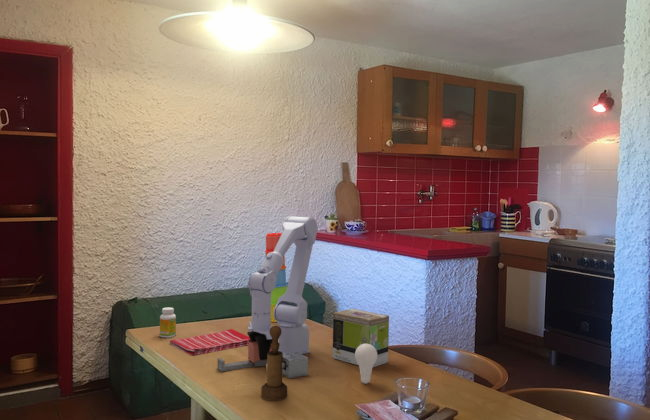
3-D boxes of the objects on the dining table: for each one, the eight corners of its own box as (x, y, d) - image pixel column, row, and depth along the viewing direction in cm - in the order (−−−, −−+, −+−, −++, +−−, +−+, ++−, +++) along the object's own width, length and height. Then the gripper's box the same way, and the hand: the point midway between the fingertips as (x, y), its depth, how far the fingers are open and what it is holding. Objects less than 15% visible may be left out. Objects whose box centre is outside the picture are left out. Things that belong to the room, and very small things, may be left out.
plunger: (282, 368, 161) (283, 359, 161) (286, 371, 159) (287, 362, 159) (266, 371, 158) (266, 361, 158) (269, 373, 156) (270, 364, 156)
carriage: (266, 360, 172) (266, 340, 172) (272, 364, 169) (272, 343, 168) (247, 362, 170) (248, 342, 169) (253, 367, 166) (253, 346, 165)
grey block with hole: (298, 368, 165) (298, 352, 165) (307, 375, 160) (308, 357, 160) (279, 371, 162) (279, 354, 162) (288, 378, 157) (289, 360, 157)
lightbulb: (370, 389, 150) (371, 348, 150) (350, 384, 153) (351, 344, 153) (380, 382, 155) (381, 343, 155) (360, 378, 159) (361, 339, 158)
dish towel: (256, 345, 191) (256, 337, 191) (192, 358, 176) (192, 349, 175) (230, 334, 204) (230, 327, 204) (168, 345, 189) (169, 337, 189)
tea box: (389, 362, 173) (390, 315, 173) (368, 369, 166) (370, 320, 165) (351, 352, 184) (353, 307, 183) (331, 358, 176) (332, 311, 176)
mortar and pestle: (266, 402, 140) (268, 330, 139) (257, 393, 145) (258, 324, 145) (291, 398, 143) (292, 327, 142) (281, 389, 148) (282, 322, 148)
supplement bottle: (171, 338, 195) (171, 310, 194) (156, 337, 196) (157, 309, 196) (178, 334, 200) (178, 307, 200) (164, 333, 201) (164, 306, 201)
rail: (273, 360, 173) (274, 350, 173) (278, 363, 170) (278, 353, 170) (217, 368, 164) (217, 358, 164) (221, 371, 161) (221, 361, 161)
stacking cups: (281, 323, 219) (283, 234, 217) (259, 320, 223) (260, 233, 222) (294, 318, 228) (296, 233, 227) (272, 315, 232) (273, 231, 231)
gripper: (239, 308, 173) (239, 352, 173) (258, 318, 160) (257, 366, 161) (261, 306, 176) (260, 349, 177) (280, 316, 164) (280, 362, 164)
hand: (260, 357), depth 169 cm, fingers closed on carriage, 4 cm apart
